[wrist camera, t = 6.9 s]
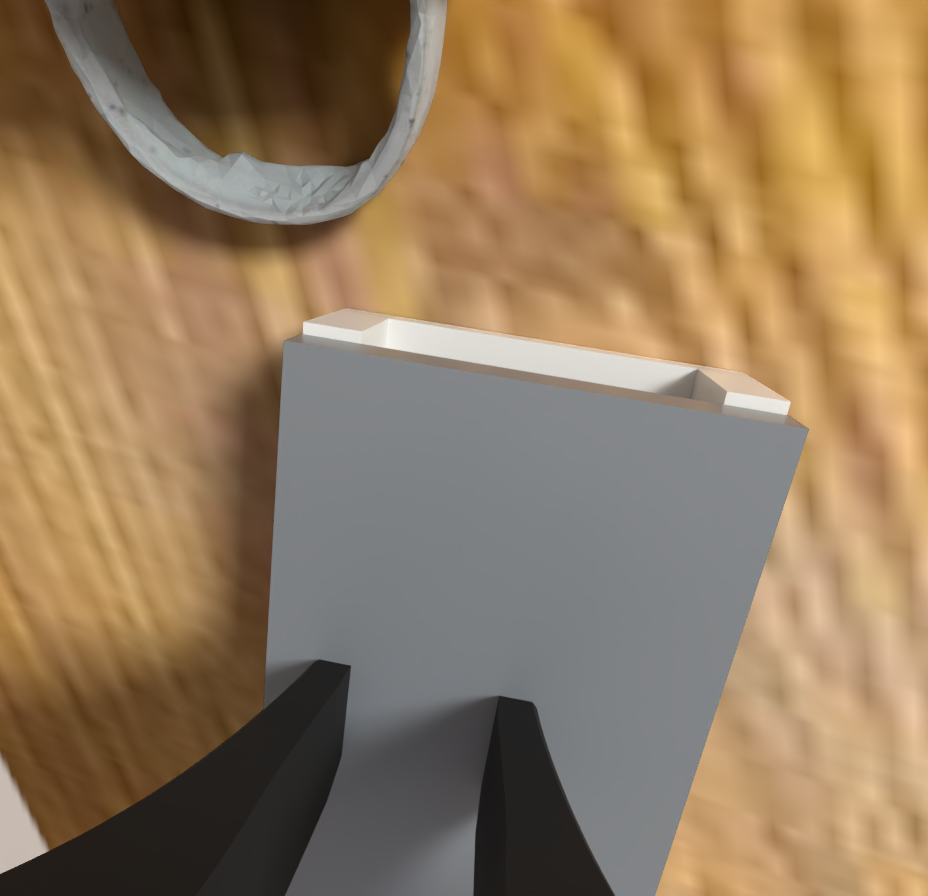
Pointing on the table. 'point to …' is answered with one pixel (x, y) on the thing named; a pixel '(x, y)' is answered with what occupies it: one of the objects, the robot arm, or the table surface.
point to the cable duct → (548, 358)
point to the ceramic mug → (239, 174)
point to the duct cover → (509, 596)
